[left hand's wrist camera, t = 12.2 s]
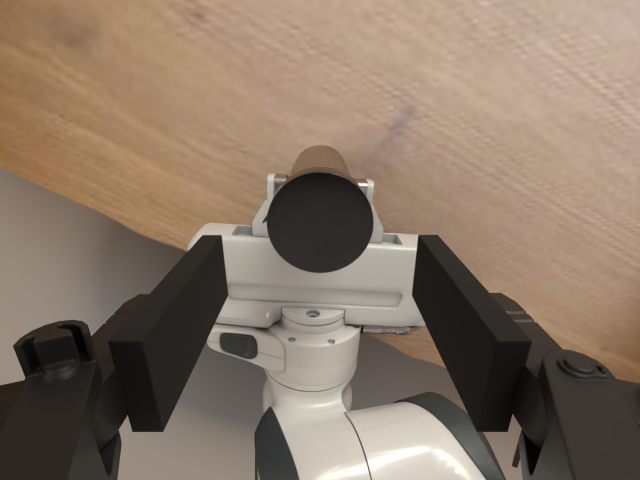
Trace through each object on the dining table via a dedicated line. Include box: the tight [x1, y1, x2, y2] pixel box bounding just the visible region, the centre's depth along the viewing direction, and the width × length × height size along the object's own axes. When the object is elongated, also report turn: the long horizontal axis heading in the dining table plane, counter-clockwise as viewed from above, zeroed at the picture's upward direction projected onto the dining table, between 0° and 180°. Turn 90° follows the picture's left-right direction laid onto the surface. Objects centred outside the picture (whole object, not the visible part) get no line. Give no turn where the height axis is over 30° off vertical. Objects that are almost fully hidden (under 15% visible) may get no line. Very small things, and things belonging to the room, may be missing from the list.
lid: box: [267, 167, 374, 273], centre depth 19 cm, size 6×6×2 cm
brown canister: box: [289, 145, 351, 177], centre depth 26 cm, size 5×5×15 cm
